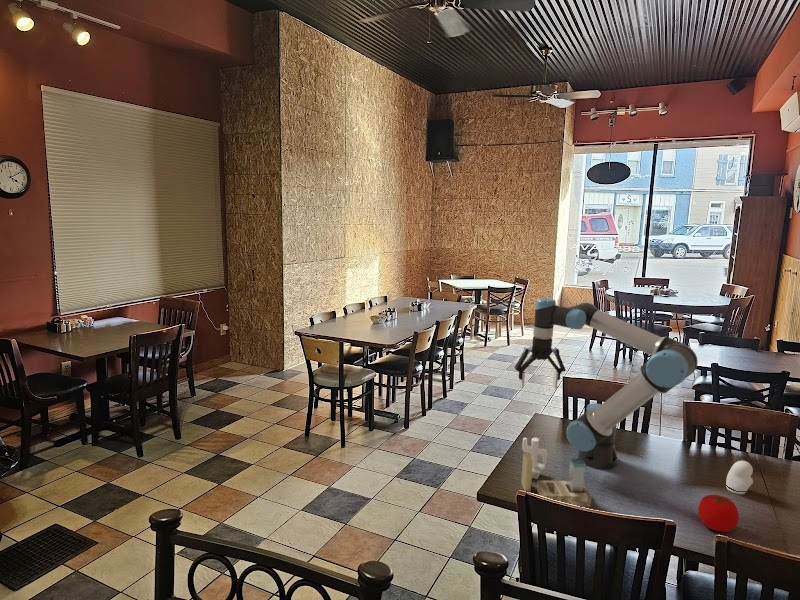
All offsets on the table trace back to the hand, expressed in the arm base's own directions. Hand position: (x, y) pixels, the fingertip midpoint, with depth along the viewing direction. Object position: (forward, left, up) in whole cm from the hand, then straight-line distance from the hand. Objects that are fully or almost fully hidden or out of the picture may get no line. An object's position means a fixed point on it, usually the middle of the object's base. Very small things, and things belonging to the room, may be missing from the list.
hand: (538, 387), depth 215 cm
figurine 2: (-69, +27, -29) cm, 79 cm away
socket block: (-2, +34, -29) cm, 45 cm away
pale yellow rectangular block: (+10, +27, -29) cm, 41 cm away
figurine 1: (+5, +19, -29) cm, 35 cm away
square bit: (-6, +34, -28) cm, 45 cm away
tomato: (-48, +49, -29) cm, 74 cm away
